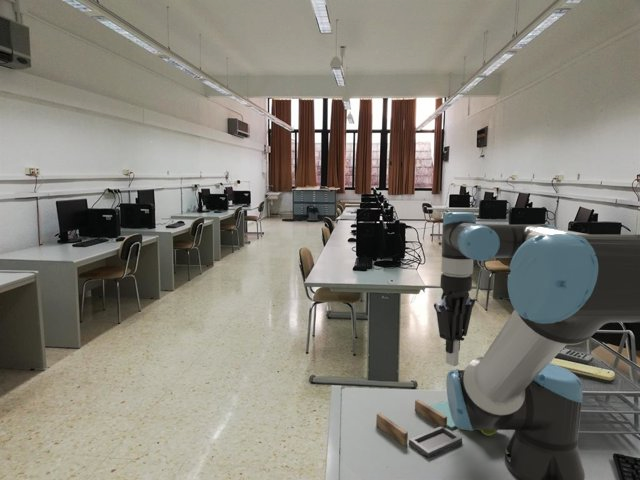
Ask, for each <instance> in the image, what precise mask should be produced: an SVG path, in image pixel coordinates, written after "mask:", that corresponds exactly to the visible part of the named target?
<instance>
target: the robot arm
mask: <svg viewBox="0 0 640 480" xmlns="http://www.w3.org/2000/svg"><path fill="white" fill-rule="evenodd" d="M441 244H442V248H441V269H440V270H441V272H442V273H441V274H440V285H439V286H440V289H442V294H441V296H440V297H441V300H440V301H439V302H435V303H433V307H434V310H435V313H436V319H437V326H438V334H439V335H438V336H439V337H440V339H443V340H445V348H444V349H445V350H444V351H445V363H446V364H447V365H450V366H452V367H457V366H459V354H460V351H461V342H463V341H464V340H465V337H466V336H467V335H468V331H469V325H470V321H471V316H472V312H473V311H472V310H473V309H474V306H475V303H476V299H475V298H472V297H470V293H469V292H470V291H472V288H473V276H472V274H473V273H474V261H487V260H490V259H492V258H494V259H510V258H512V259H511V260H510V264H509V267H508V268H509V270H510V273H509V274H508V275H507V282H506V283H507V292H508V297H509V300H510V303H511V305H512V307H513V311H512V313H511V314H510V315H509V317H508V318H507V321H506V322H505V323H504V325H503V326H502V328H501V330H500V331H499V332H498V334H497V335H496V337H495V338H494V340H493V342H492V343H491V345H490V346H489V347H488V349H487V351H486V352H485V354H484V355H483V356H481V357H478V358H477V357H476V358H474V359H473V360H471V361H470V362H469V363H468V364H467V366H466V367H465V368H464V369H459V368H458V369H457V368H455V369H450V370H449V371H448V372H447V375H446V381H445V382H446V397H447V402H448V404H449V409H450V413H451V417H452V419H453V422H454V424H455V425H456V426H457V427H456V428H458V429H460V430H464V431H465V430H466V431H471V432H474V431H481V430H498V431H514V432H513V434H512V435H511V438H510V439H509V442H508V444H507V445H506V448H505V451H504V454H503V455H504V458H503V461H504V465H505V467H506V468H507V470H508V471H509V472H510V473H511V474H512V475H513V476H514V477H515V478H517V479H518V480H586V479H585V478H586V476H585V475H586V474H585V469H584V466H583V462H582V460H581V455H580V451H579V446H578V444H579V431H580V425H581V424H580V423H581V412H582V403H583V402H584V399H583V398H584V397H583V383H582V381H581V379H580V378H579V377H578V376H577V375H576V374H575V373H574V372H572V371H570V370H569V369H567V368H565V367H562V366H560V365H557V364H554V363H551V362H552V361H553V360H554V359H555V358H556V356H558V354H560V352H561V351H562V350H563V349H564V348H565V347H566V346H570V345H571V346H572V345H573V346H574V345H579V344H582V343H584V342H586V341H588V340H589V339H590V338H592V336H593V335H594V334H595V333H597V331H599V329H601V328H602V327H603V326H605V325H606V324H609V323H610V324H611V323H640V234H589V233H582V232H577V231H573V230H565V229H560V228H558V227H557V226H555V225H552V224H545V223H536V224H510V223H509V224H504V223H503V224H501V223H500V224H499V223H481V224H480V223H477V221H476V214H475V213H474V212H470V211H469V212H468V211H448V212H446V213H444V216H443V223H442V243H441Z"/></svg>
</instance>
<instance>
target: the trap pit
mask: <svg viewBox="0 0 640 480" xmlns="http://www.w3.org/2000/svg"><path fill="white" fill-rule="evenodd" d="M462 443H463V437H462V436H460V435H458V434H457V433H455V432H454V431H452V430H451V429H449V428H448V427H447V428H446V427H444V426H443V425H442V426H440V427H439V426H437V427H436V428H433V429H430V430H428V431H425V432H423V433H421V434H418V435H416V436H414V437H411V438H408V445H410V446H411V447H412V448H414V449H415V450H416V451H418V452H419V453H420V454H422V455H423V456H424V457H426V458H427V459H428V458H431V457H433V456H435V455H438V454H440V453H443V452H444V451H447V450H449V449H451V448H453V447H455V446H457V445H460V444H462Z"/></svg>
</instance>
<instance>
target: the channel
mask: <svg viewBox="0 0 640 480" xmlns="http://www.w3.org/2000/svg"><path fill="white" fill-rule="evenodd" d="M430 406H431V405H429V404H427V403H425V402H423V401H421V400H420V399H415V400H414V411H415V412H417V413H418V414H420V415H422V416H423V417H424V418H426V419H427V420H428V421H430V422H431V423H433V424H434V425H436V426H437V427H440V426H442V425H443V426H444V427H446V428H447V429H448V427H447V416H445V415H443V414H442V413H440V412H438V411H437V410H435V409H433V408H432V407H430ZM376 427H378V428H380V429H381V430H382V431H384V433H386V434H388V435H389V436H390V437H391V438H393V439H394V440H396V441H397V442H398V443H399V444H401V446H403V447H405V446H407V445H408V441H409V438H408V431H406V429H403V428H402V427H401V426H399V424H397V423H395V422H394V421H392V420H391V419H390V418H388V417H386V416H385V415H384V414H383V413H381V412H378V413H376Z"/></svg>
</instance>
